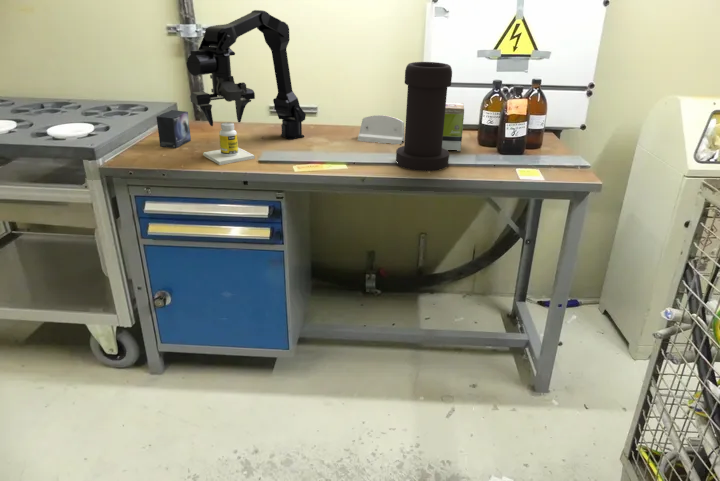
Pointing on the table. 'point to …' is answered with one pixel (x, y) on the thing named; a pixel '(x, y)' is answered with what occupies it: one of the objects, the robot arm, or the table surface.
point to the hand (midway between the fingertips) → (225, 124)
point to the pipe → (425, 117)
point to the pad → (222, 159)
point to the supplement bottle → (228, 139)
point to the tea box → (453, 126)
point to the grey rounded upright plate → (381, 129)
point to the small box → (173, 129)
